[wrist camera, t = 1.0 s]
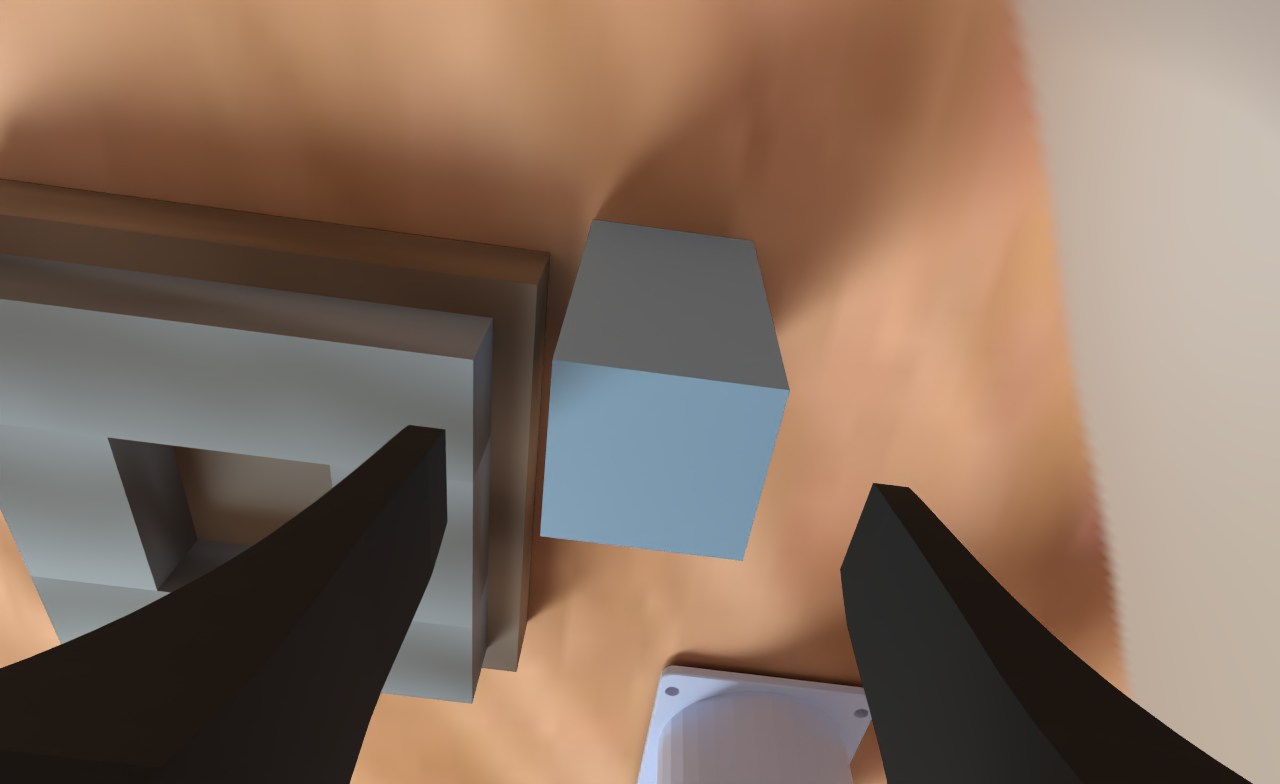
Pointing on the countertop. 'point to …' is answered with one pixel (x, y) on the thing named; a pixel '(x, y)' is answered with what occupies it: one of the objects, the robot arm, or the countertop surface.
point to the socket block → (260, 403)
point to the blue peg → (662, 394)
